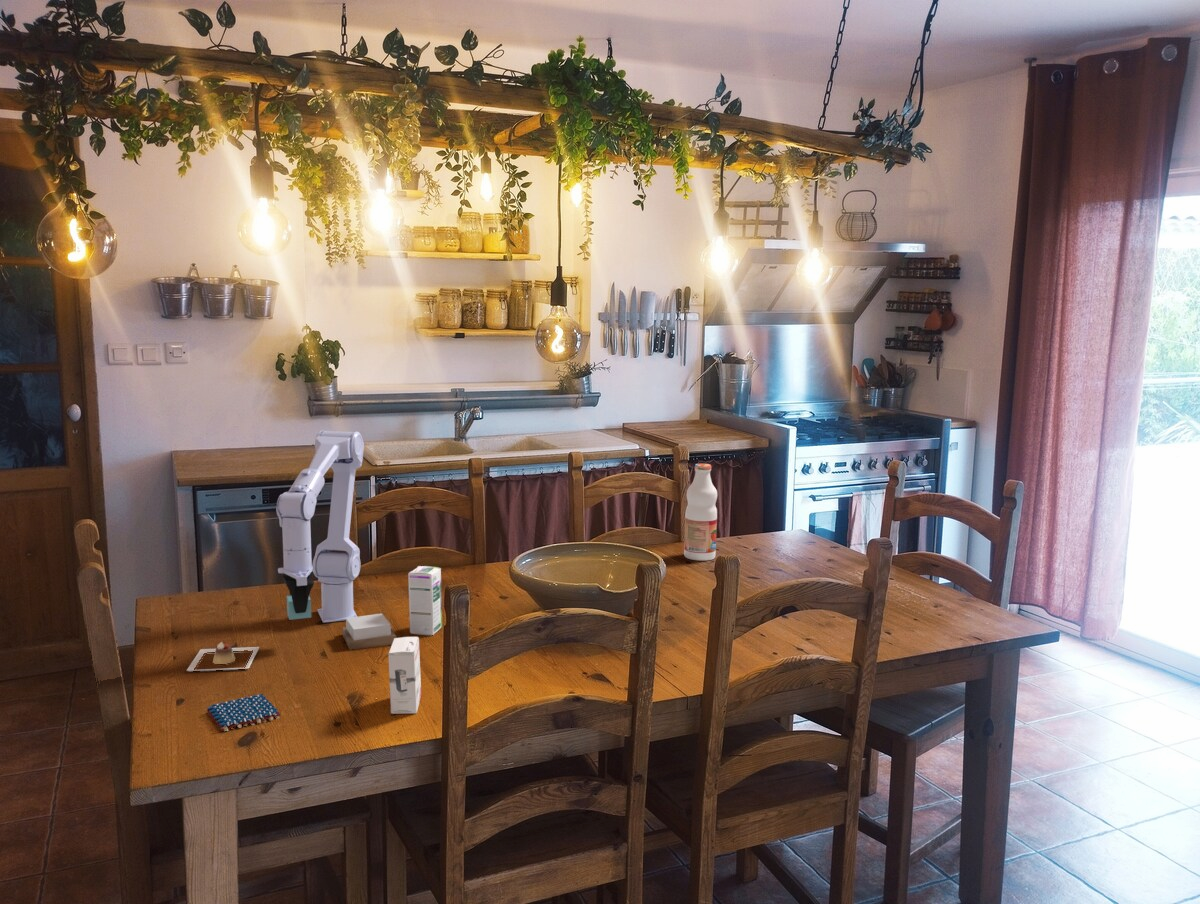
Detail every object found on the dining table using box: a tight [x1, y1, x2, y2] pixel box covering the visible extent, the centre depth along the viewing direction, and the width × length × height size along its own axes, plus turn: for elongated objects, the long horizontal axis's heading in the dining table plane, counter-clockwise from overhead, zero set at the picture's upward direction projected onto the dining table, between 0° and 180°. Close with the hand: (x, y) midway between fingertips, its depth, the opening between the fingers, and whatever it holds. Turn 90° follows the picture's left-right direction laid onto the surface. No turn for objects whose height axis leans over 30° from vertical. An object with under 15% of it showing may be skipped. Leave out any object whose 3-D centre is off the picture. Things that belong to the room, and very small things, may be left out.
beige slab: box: [341, 626, 397, 651], centre depth 212 cm, size 10×10×2 cm
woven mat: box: [206, 693, 281, 732], centre depth 173 cm, size 10×11×2 cm
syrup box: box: [407, 565, 443, 636], centre depth 217 cm, size 6×6×14 cm
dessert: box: [186, 641, 260, 673], centre depth 198 cm, size 12×12×5 cm
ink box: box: [387, 636, 422, 715], centre depth 178 cm, size 9×5×12 cm, turn 5°
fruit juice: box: [683, 463, 718, 562], centre depth 283 cm, size 9×9×28 cm
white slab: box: [345, 613, 392, 641], centre depth 211 cm, size 8×8×2 cm
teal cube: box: [286, 594, 312, 621], centre depth 206 cm, size 4×4×4 cm
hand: (299, 608), depth 206 cm, fingers closed on teal cube, 4 cm apart
